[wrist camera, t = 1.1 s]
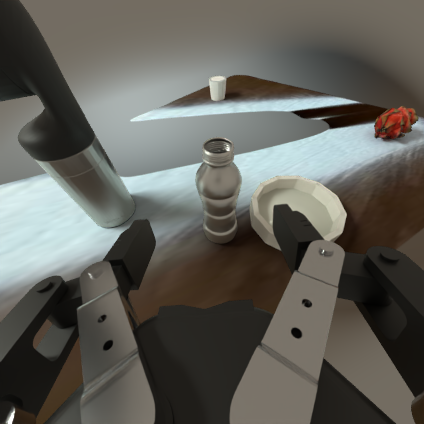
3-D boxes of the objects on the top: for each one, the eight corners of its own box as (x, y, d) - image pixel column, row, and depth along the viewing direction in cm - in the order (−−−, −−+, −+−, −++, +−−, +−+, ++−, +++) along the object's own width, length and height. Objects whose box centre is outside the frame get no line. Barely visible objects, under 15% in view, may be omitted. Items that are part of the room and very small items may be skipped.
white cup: (226, 94, 80) (226, 75, 74) (226, 101, 76) (226, 81, 70) (210, 95, 80) (209, 75, 75) (209, 101, 76) (208, 81, 71)
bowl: (235, 206, 42) (236, 193, 39) (293, 179, 46) (298, 166, 43) (287, 270, 32) (294, 261, 29) (354, 229, 37) (366, 218, 34)
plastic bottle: (232, 251, 35) (240, 167, 19) (199, 242, 37) (181, 157, 21) (239, 224, 39) (251, 134, 23) (209, 217, 40) (200, 128, 24)
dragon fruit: (396, 134, 59) (369, 152, 57) (383, 111, 58) (356, 127, 56) (432, 120, 50) (402, 140, 48) (417, 92, 50) (387, 111, 48)
